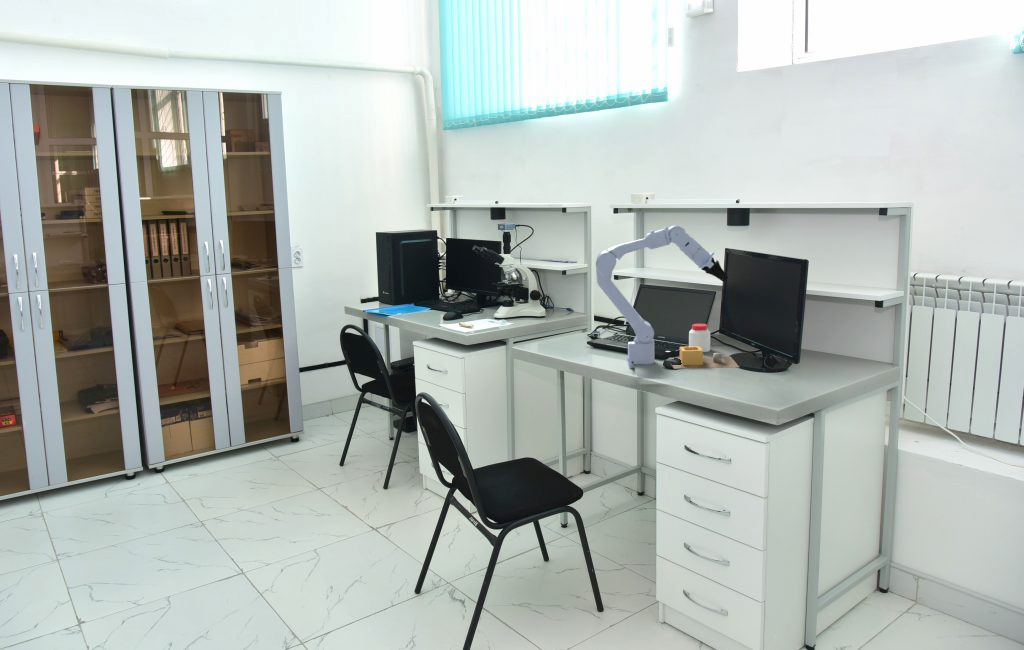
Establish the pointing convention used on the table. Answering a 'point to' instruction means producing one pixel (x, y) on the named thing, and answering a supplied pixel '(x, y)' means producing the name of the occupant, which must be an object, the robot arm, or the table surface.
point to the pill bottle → (700, 337)
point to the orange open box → (691, 355)
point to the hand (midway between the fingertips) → (723, 278)
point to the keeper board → (711, 362)
